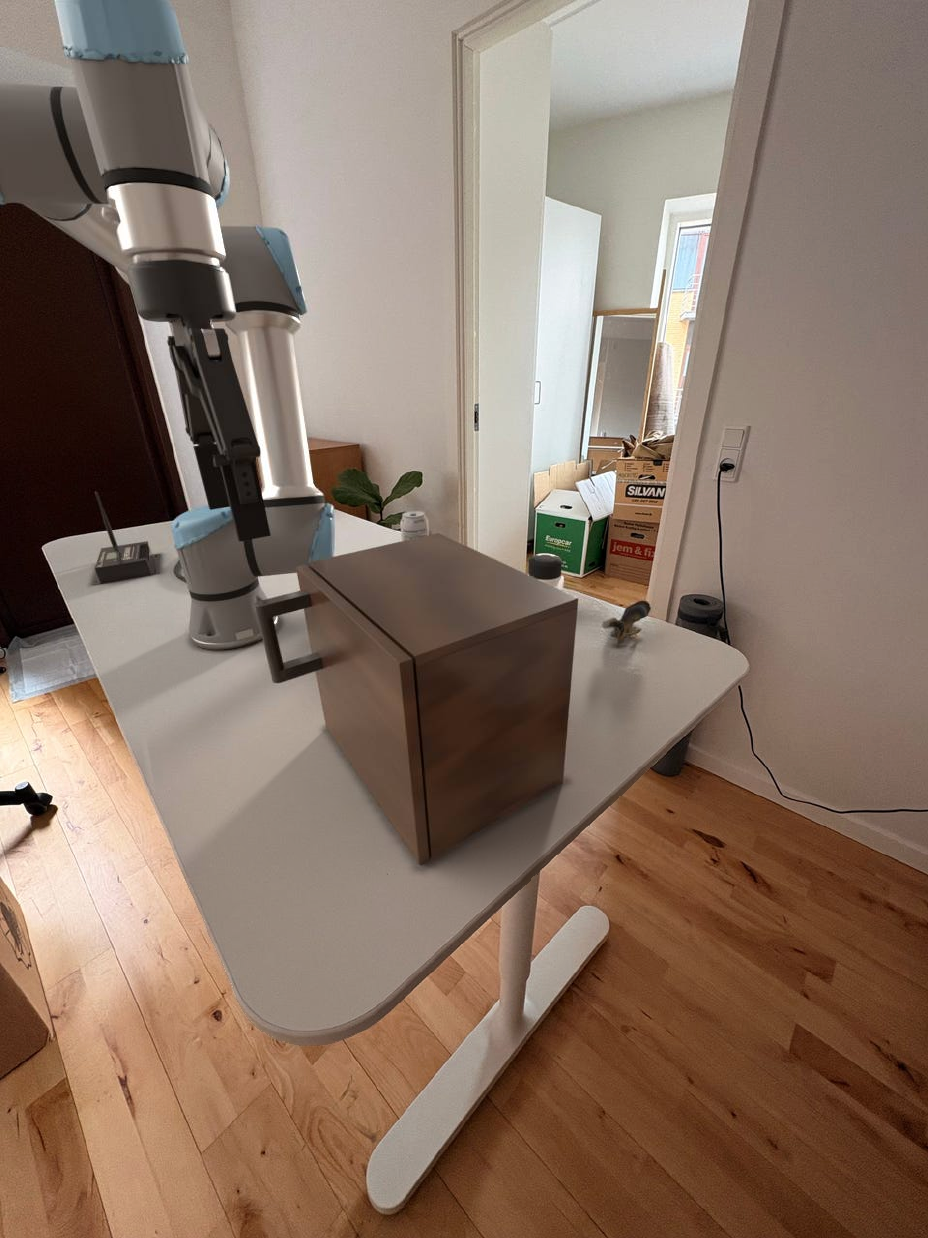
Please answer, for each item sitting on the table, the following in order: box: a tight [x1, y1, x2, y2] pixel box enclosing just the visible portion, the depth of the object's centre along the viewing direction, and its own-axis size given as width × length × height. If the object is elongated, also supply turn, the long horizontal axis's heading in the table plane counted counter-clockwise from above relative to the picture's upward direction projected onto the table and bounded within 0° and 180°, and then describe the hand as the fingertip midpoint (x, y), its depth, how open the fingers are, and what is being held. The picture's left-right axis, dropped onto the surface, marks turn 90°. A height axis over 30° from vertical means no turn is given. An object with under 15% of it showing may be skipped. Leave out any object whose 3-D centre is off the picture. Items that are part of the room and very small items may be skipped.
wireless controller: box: [91, 491, 161, 586], centre depth 125 cm, size 20×14×17 cm
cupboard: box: [308, 532, 579, 859], centre depth 60 cm, size 18×26×24 cm
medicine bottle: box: [526, 553, 565, 591], centre depth 96 cm, size 7×7×12 cm
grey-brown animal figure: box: [601, 600, 652, 648], centre depth 89 cm, size 8×7×9 cm
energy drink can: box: [399, 510, 430, 541], centre depth 114 cm, size 6×6×15 cm
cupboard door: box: [255, 565, 430, 866], centre depth 54 cm, size 7×26×24 cm, turn 34°
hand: (237, 521), depth 51 cm, fingers open, 13 cm apart
